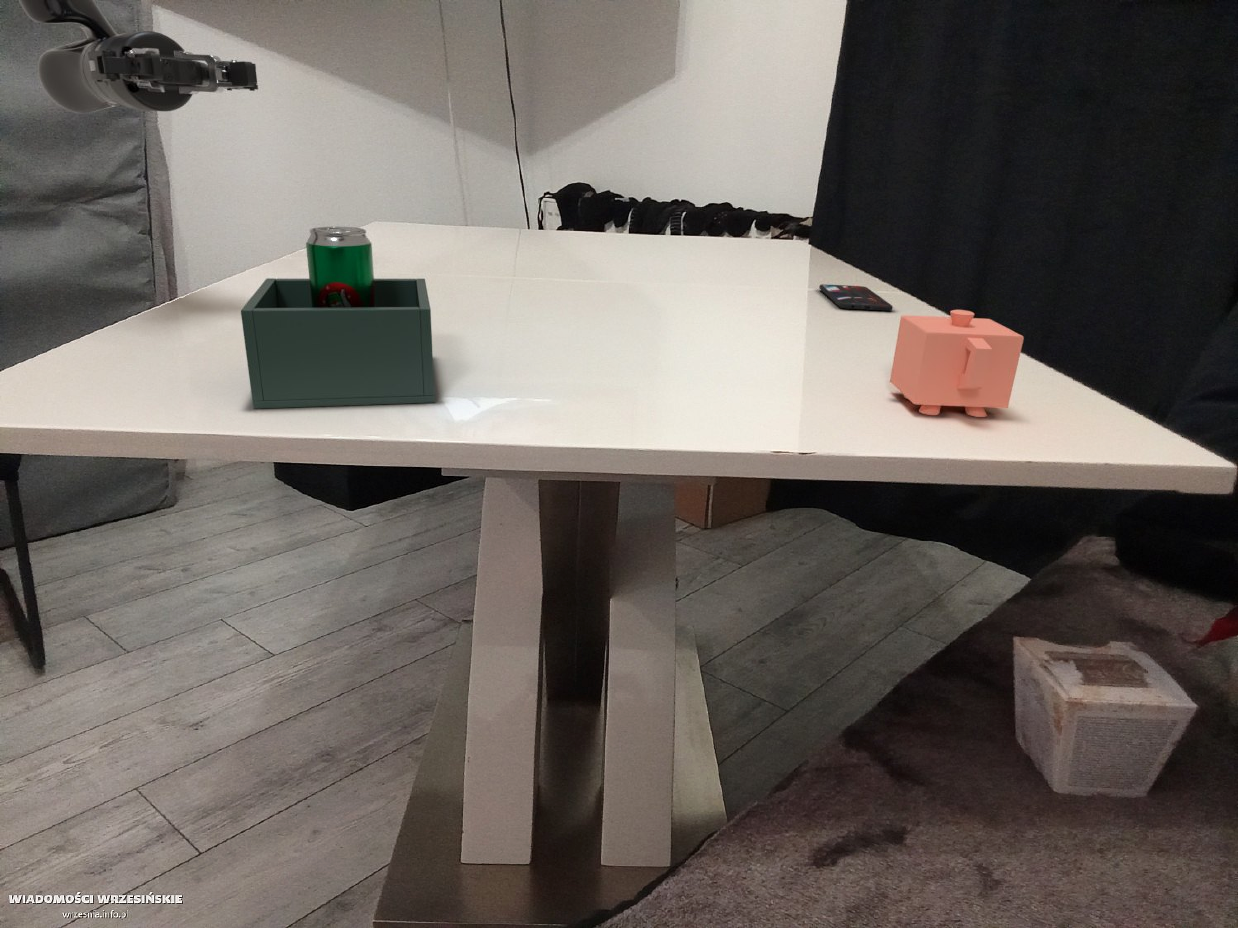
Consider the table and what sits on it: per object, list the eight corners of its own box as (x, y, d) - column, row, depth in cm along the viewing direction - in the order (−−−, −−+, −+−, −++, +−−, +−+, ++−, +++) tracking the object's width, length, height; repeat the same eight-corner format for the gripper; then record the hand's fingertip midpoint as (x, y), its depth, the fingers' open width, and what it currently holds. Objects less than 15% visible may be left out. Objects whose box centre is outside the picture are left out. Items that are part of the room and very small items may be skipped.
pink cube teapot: (960, 385, 78) (977, 298, 75) (1016, 428, 67) (1039, 327, 64) (877, 382, 78) (892, 294, 75) (920, 424, 67) (939, 323, 64)
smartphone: (841, 304, 110) (818, 283, 124) (840, 309, 110) (817, 288, 124) (895, 306, 110) (866, 286, 124) (894, 311, 110) (865, 290, 124)
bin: (253, 409, 63) (240, 310, 61) (276, 362, 76) (266, 278, 73) (434, 402, 67) (430, 308, 64) (428, 359, 79) (424, 278, 76)
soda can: (349, 362, 74) (338, 224, 70) (392, 371, 72) (384, 230, 68) (305, 375, 70) (290, 229, 66) (350, 385, 68) (337, 235, 63)
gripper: (58, 24, 82) (115, 15, 71) (206, 40, 91) (275, 34, 81) (73, 107, 84) (130, 110, 74) (215, 114, 94) (283, 117, 84)
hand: (206, 70), depth 78 cm, fingers open, 8 cm apart
